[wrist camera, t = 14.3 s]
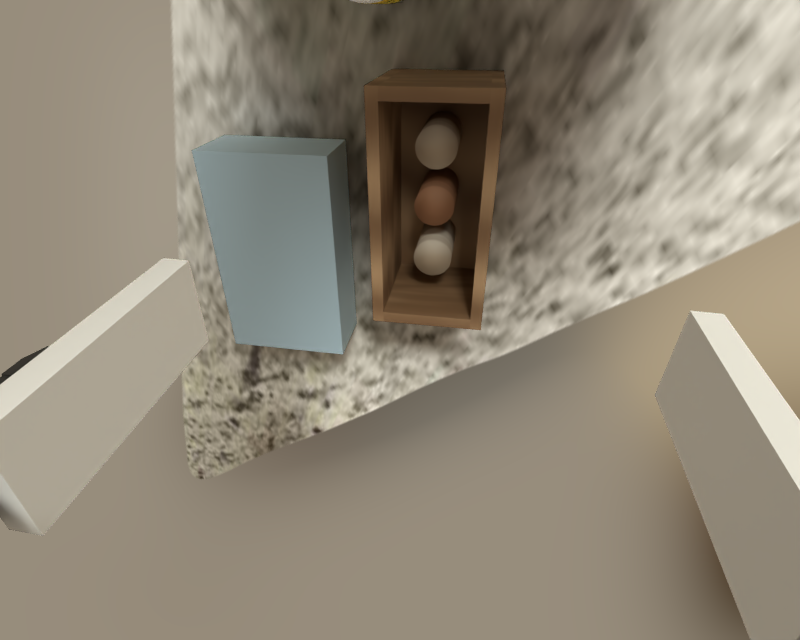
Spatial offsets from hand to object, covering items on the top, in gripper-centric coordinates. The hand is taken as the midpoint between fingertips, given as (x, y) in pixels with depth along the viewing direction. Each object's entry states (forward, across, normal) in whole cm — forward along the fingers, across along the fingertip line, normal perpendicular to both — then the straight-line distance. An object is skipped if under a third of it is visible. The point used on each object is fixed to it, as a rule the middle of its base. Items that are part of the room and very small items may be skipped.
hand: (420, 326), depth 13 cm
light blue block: (+28, -14, -11) cm, 33 cm away
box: (+28, -2, -5) cm, 28 cm away
